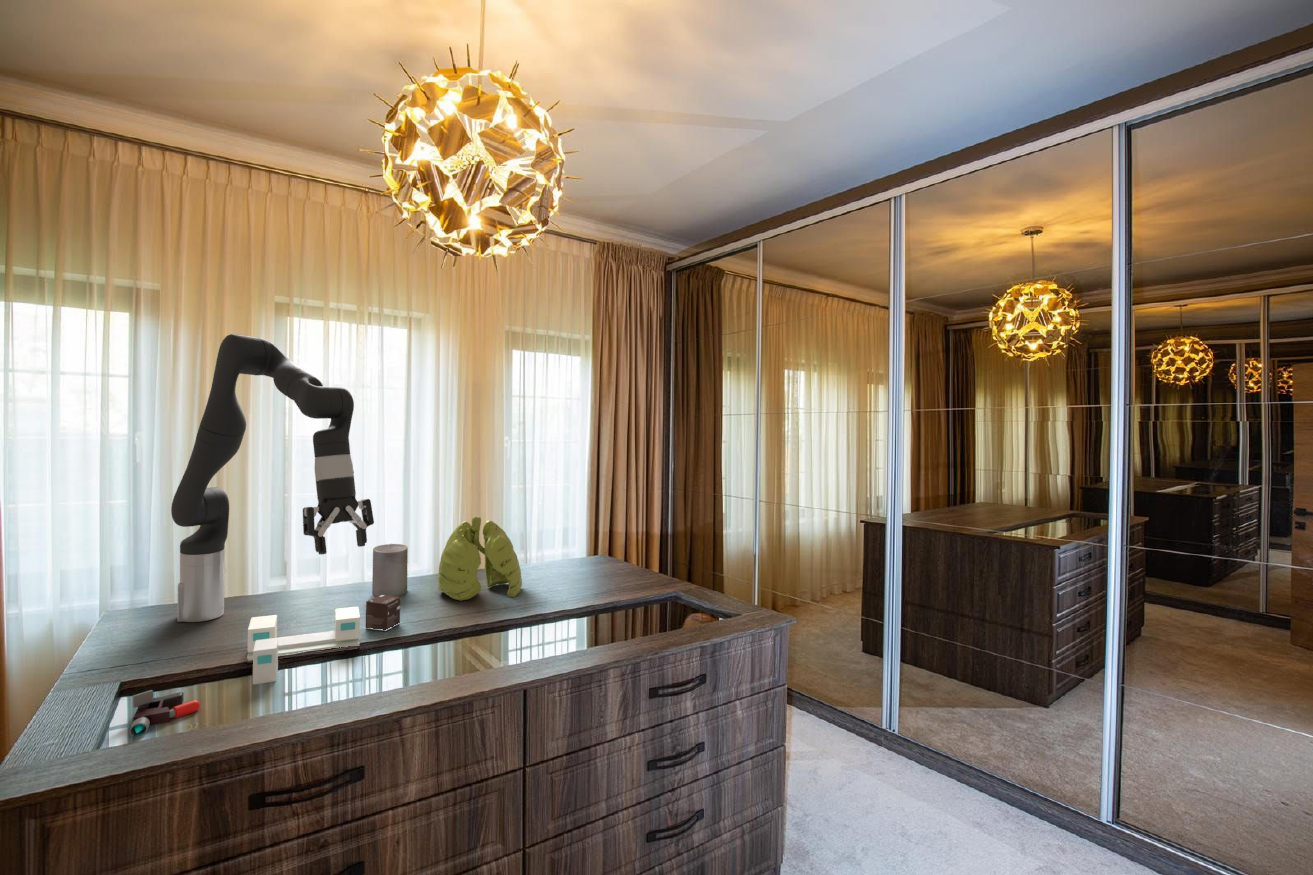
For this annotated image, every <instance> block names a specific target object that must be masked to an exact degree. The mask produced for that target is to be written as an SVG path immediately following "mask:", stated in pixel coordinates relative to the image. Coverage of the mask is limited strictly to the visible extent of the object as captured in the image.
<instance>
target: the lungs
mask: <svg viewBox="0 0 1313 875" xmlns="http://www.w3.org/2000/svg"><path fill="white" fill-rule="evenodd" d="M481 525H482V518H481V516H478V517H477V516H473V517H472V518H471V523H469V522H468V521H462V522H460V524H459V525H458V526H456V527H455V529H454V530H453V531H452V533H451V534H450V536H449V537H448V539H447V541H446V543H445V546H444V548H443V550H442V554H441V557H440V560H439V564H438V572H437V590H438V591H439V592H441V593H444V594H445V595H447V596H449V597H450V598H451V599H454V600H458V601H461V602H462V601H465V600H469V599H471V598H473V597H475V596H477V595H478V594H479V592H480V591H481V588H482V585H481V584H480V582H479V580H478V576H477V574H478V573H477V572H478V569H479V567H480V565H481V564H482V558H481V555H480V553H482V554H483V555H484V572H485V578H486V587H487V588H490V587H494V586H500V585H505V584H508V589H507V596H508V597H510V598H515V597H516V596H517V595H519V593H520V591H521V588H522V587H523V578H522V571H521V565H520V562H519V558H518V555H517V553H516V552H515V550H514V545H513V543H512V541H511V539H510V537H509V536H508V535H507V533H506V532H505V530H504V529H503V528H501V527H500V526H499V525H498V524H497V523H495V522H494V521H492V520H487V521H486V522H484V525H483V527H482V536H483V540H484V542H483V545H484V546H482V544H481V543H480V530H481Z"/></svg>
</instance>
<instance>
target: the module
mask: <svg viewBox="0 0 1313 875" xmlns="http://www.w3.org/2000/svg"><path fill="white" fill-rule="evenodd" d="M278 670H279V660H278V637H277V638H271V639H262V640H256V642H255V646H254V650H253V664H252V685H259V684H266V683H267V684H268V683H273V682H276V681H277V677H278Z"/></svg>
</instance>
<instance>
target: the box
mask: <svg viewBox="0 0 1313 875" xmlns="http://www.w3.org/2000/svg"><path fill="white" fill-rule="evenodd" d="M400 622H401V596H387V595H380V596H377V597H376V596H373V597H372V598H371V599H368V600H366V601H365V627H366V628H373V629H383V630H386V629H388V628H390V627H393V626H394V625H396V624H398V623H400ZM400 624H401V623H400Z"/></svg>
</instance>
